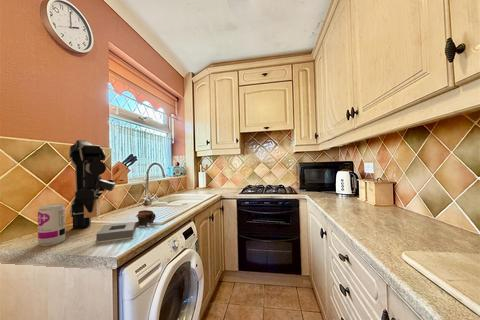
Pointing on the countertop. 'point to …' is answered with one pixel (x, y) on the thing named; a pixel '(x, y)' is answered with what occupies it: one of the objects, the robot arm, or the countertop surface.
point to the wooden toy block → (95, 210)
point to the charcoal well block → (116, 232)
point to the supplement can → (51, 224)
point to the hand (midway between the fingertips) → (92, 211)
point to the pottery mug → (145, 217)
